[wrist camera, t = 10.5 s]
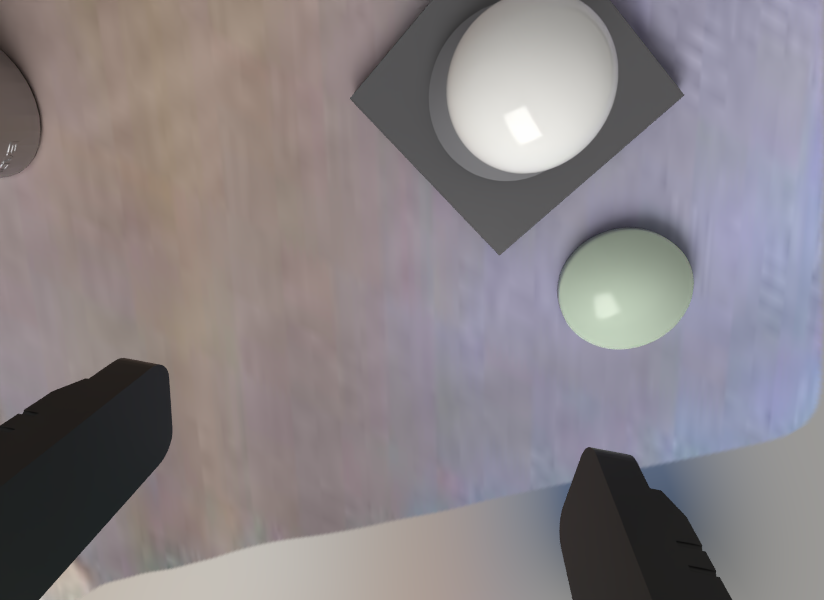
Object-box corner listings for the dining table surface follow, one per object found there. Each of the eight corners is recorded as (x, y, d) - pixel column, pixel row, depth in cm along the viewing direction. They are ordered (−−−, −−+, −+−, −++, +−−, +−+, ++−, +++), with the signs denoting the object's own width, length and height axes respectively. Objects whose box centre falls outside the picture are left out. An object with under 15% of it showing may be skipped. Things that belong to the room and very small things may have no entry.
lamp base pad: (354, 99, 28) (346, 98, 26) (521, -99, 23) (525, -118, 22) (498, 250, 30) (499, 259, 28) (675, 96, 26) (690, 94, 24)
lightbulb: (515, 1, 23) (546, -90, 13) (599, 92, 24) (688, 72, 14) (430, 102, 26) (402, 91, 15) (510, 181, 27) (533, 220, 16)
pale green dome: (534, 270, 30) (536, 275, 29) (652, 202, 28) (658, 205, 27) (593, 361, 32) (596, 369, 31) (707, 305, 30) (715, 311, 29)
